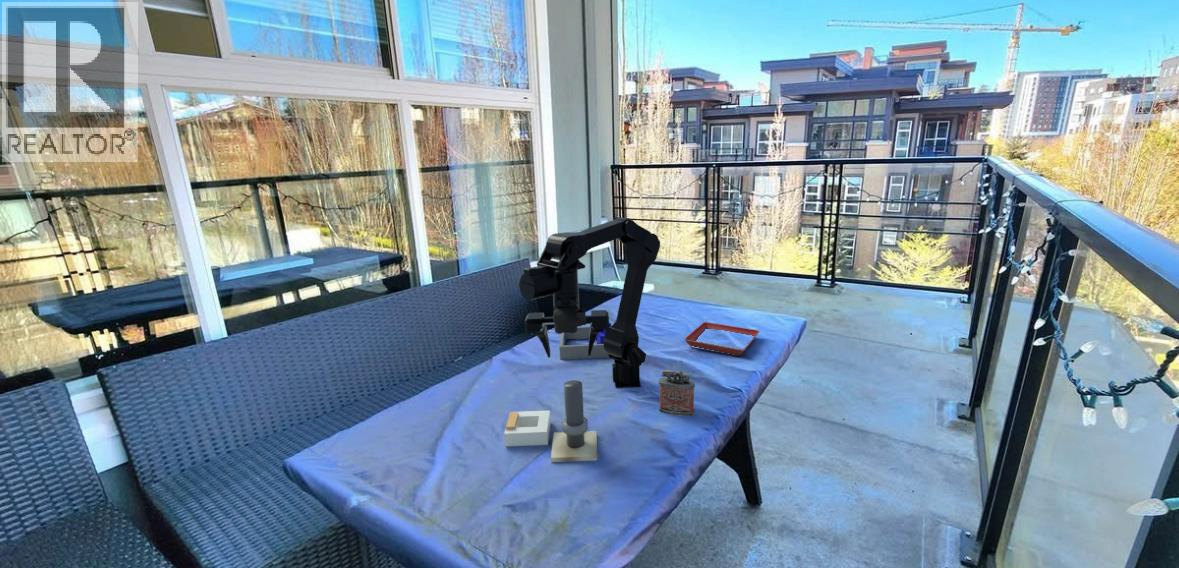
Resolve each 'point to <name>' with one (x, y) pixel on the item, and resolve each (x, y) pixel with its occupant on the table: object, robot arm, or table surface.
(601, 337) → the blue stepped block
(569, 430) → the plug
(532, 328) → the robot arm
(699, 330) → the plant saucer
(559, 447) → the birch board
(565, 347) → the storage tray
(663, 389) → the lighter
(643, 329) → the table surface
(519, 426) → the socket block
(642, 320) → the table surface
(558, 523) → the table surface
